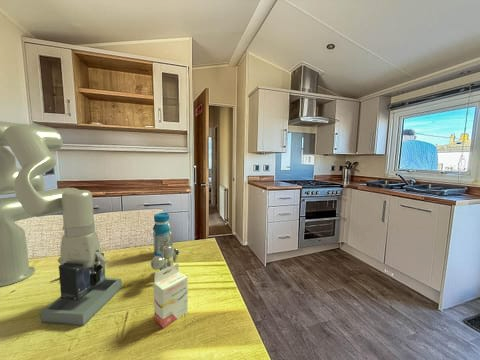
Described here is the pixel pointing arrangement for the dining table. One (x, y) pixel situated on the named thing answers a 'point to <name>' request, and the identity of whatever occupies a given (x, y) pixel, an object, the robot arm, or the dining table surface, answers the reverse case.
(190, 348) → the dining table surface
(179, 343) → the dining table surface
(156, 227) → the beverage bottle
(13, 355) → the dining table surface
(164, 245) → the robot toy
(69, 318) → the tray
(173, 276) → the ink cartridge box
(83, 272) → the small box
